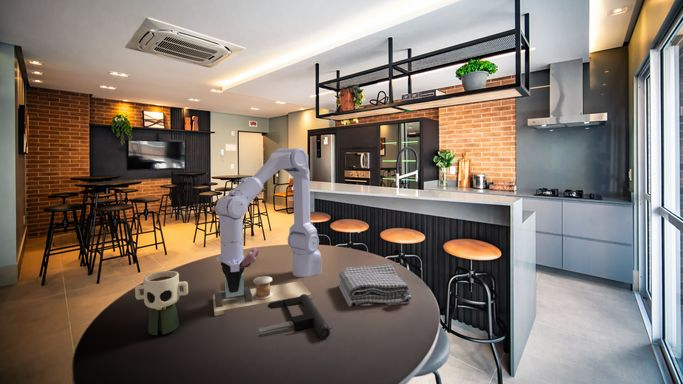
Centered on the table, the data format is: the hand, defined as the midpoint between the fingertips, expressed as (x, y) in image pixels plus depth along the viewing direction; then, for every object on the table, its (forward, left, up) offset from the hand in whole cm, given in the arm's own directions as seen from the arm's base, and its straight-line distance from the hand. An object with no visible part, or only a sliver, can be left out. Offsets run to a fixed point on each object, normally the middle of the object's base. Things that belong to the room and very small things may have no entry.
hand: (233, 289), depth 85 cm
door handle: (-12, +15, -5) cm, 20 cm away
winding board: (-8, -1, -4) cm, 9 cm away
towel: (-38, +11, -5) cm, 40 cm away
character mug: (+16, +7, -5) cm, 18 cm away
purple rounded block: (-10, -36, -5) cm, 37 cm away
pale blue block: (0, 0, -1) cm, 1 cm away
